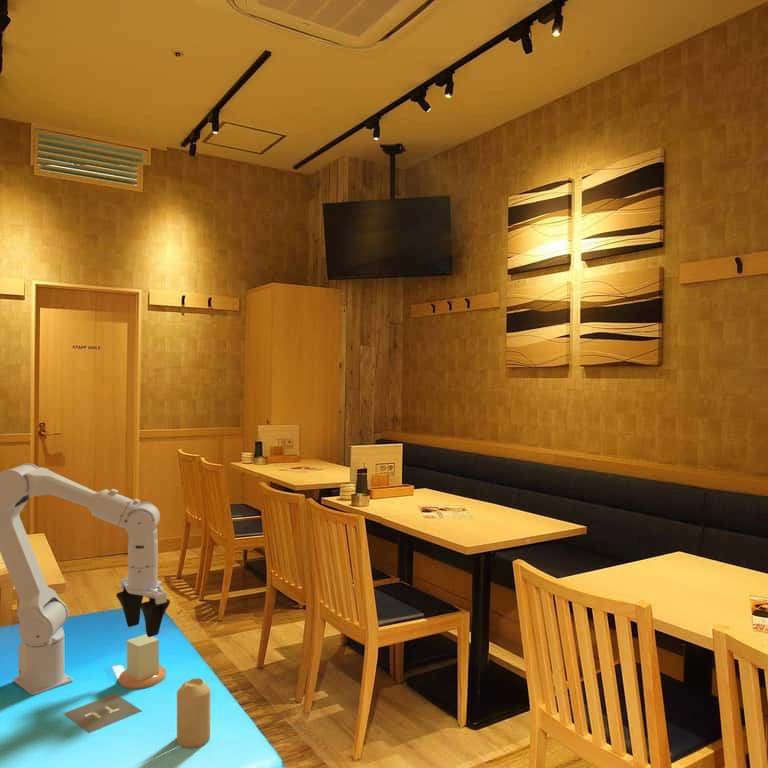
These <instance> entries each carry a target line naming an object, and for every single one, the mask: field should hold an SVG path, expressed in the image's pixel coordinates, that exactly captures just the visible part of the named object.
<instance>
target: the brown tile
mask: <svg viewBox="0 0 768 768" xmlns="http://www.w3.org/2000/svg"><path fill="white" fill-rule="evenodd" d="M141 712H143V710H142V709H140V708H139V707H137V706H135V704H133V703H131V702H129V701H128V700H126V699H125V698H123V697H122V696H121V695H119V694H117V693H112V694H110V695H107V696H105V697H102V698H99V699H96V700H94V701H92V702H89V703H87V704H84V705H82V706H78V707H76V708H73V709H70V710H68V711H65V712H63V713H62V714H63V715H65V716H66V717H67V718H68V719H70V720H71V721H73V722H74V723H75V724H77V726H79V727H80V728H82V729H83V730H84V731H86V733H88V734H91V733H93V732H95V731H98V730H101V729H102V728H105V727H107V726H110V725H112V724H115V723H117V722H119V721H121V720H124V719H126V718H129V717H131V716H133V715H136V714H139V713H141Z"/></svg>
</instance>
